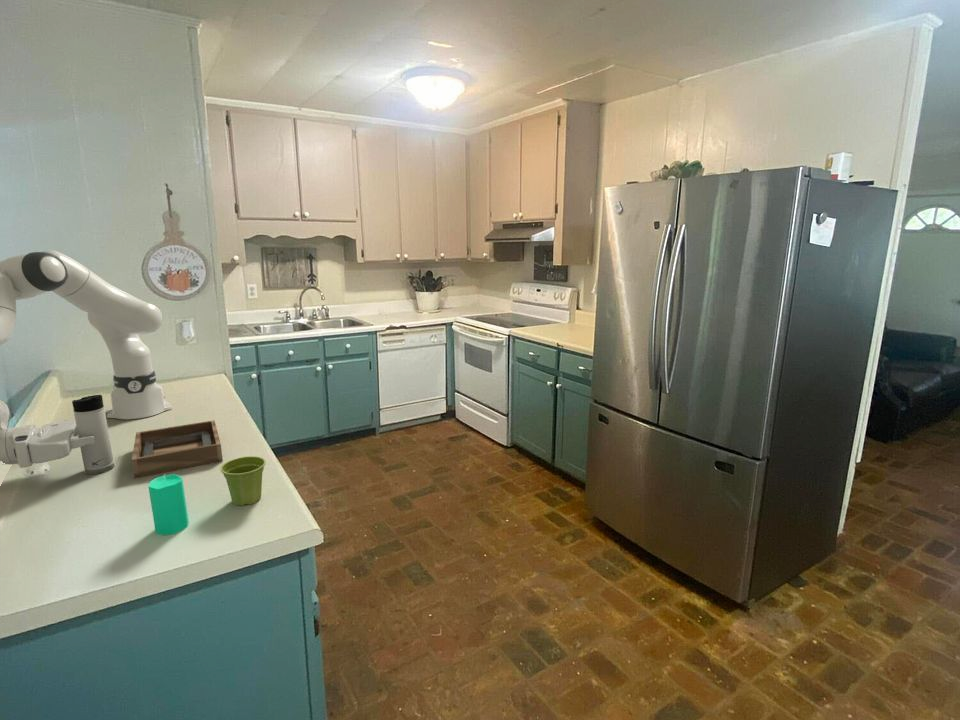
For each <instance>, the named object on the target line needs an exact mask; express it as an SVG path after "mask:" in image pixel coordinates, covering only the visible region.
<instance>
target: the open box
mask: <svg viewBox="0 0 960 720" xmlns="http://www.w3.org/2000/svg"><path fill="white" fill-rule="evenodd" d="M204 431H209V435H210V440H211V444H212V445H206V446H203V442H202V441H196V442H190V443H185V444H179V445H173V446H167V447H161V448H155V449H154V455H149V456H144V447H145V441H149V440H155V439H161V438H167V437H173V436H179V435H185V434H192V433H198V432H204ZM219 436H220V435H219V432H218V428H217V423H216V421H215V419H214V420H207V421H201V422H194V423H189V424H188V423H187V424H182V425H175V426H168V427H163V428H155V429H149V430H143V431H138V432H135V437H134V438H135V439H134V444H133V450H132V456H131V463H132V470H133V471H132V472H133V476H134V479H139V478H144V477H149V476H155V475H160V474H166V473H170V472H176V471H180V470H181V471H182V470H185V469H186V470H187V469H191V468H196V467H202V466H206V465H212V463H213V464H217V462H218V463H222V462H221V461H223V452H222V451H223V450H222V444H221V441H220V440H221V439H220V437H219ZM143 456H144V457H143ZM223 462H224V461H223Z"/></svg>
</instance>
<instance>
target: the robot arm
mask: <svg viewBox="0 0 960 720" xmlns="http://www.w3.org/2000/svg"><path fill="white" fill-rule="evenodd" d="M51 291H52V292H53V293H55V294H56V295H57V296H59V297H60V298H62V299H64V300H65V301H67V302H69V303H70V304H71V305H73V306H75V307H76V308H78V309H79V310H81V311H83V312H86V313H87V320H88V322H89V324H90V325H91V327H93V328H94V329H96V330H97V332H98V333H99V334H100V336H101V337H102V339H103V340H104V341H103V342H104V343H105V345H106V346H107V349H108V351H109V355H110V358H111V363H112V368H113V372H114V373H113V384H114V387H115V388H114V389H113V390H112V392H110V401H111V407H112V408H111V409H112V410H110V411H109V412H108V413H107V414H106V419H118V420H135V419H136V420H137V419H143V418H148V417H152V416H156V415H158V414H161V413H163V412H165V411H169V410H172V409H173V407H172V405H171V403H169V402H168V401H167V400H166V397H165V395H164V392H163V387H162V386H161V385H160V384H158V383H157V375H156V372H155V370H154V367H153V366H154V365H153V359H152V353H151V350H150V348H149V347H148V345H146V344H145V343H144V342H143V341H142V339H141V338H140V336H139V335H145V334H151V333H155V332H156V331H158V330H159V329H160V327H161V326H162V325H163V324H162V323H163V314H162V311H161V310H160V309H159V307H158V306H156V305H154V304H152V303H149V302H147V301H144V300H142V299H140V298H138V297H136V296H134V295H132V294H130V293H128V292H126V291H124V290H122V289H120V288H118V287H116V286H114V285H113V284H111V283H109V282H108V281H106V280H104V278H102V277H100V276H99V275H97V274H95V272H94V271H92V270H91V269H89V268H87V267H86V266H85V265H83V264H82V263H80V262H79V261H77V260H76V259H74V258H72V257H70V256H68V255H66V254H64V253H62V252H59V251H58V250H54V249H47V250H43V251H33V252H28V253H27V254H20V255H15V256H11V257H8V258H6V259H2V260H0V345H3V344H5V343H6V342H8V341H9V340H10V339H12V337H13V334H14V330H15V326H16V320H17V301H19V300H25V299H26V300H27V299H29V298H34V297H37V296H39V295H42V294H45V293H47V292H51ZM10 417H11V413H10V409H9V406H8V405H7V404H6V402H5V401H3V400H1V399H0V461H2V462H3V463H5V464H4V465H17V464H18V466H19V468H21V469H23V468H24V469H25V468H30V467H32V466H33V465H34V464H41V463H42V464H43V463H46V462H51V461H56V460H60V459H63V458H66V457H68V456H69V455H70V453H72V452H71V451H72V450H73V449H78V448H80V447H81V446H84V445H87V444H93V443H94V442H95V436H94V435H90V436H85V437H83V438H79V437H78V432H77V427H76V421H75V419H67V420H62V421H56V422H55V421H54V422H50V423H47V424H44V425H43V426H41V427H40V428H37V426H36V425H35V424H28V425H23V426H21V425H20V426H13V427H9V424H10Z"/></svg>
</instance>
